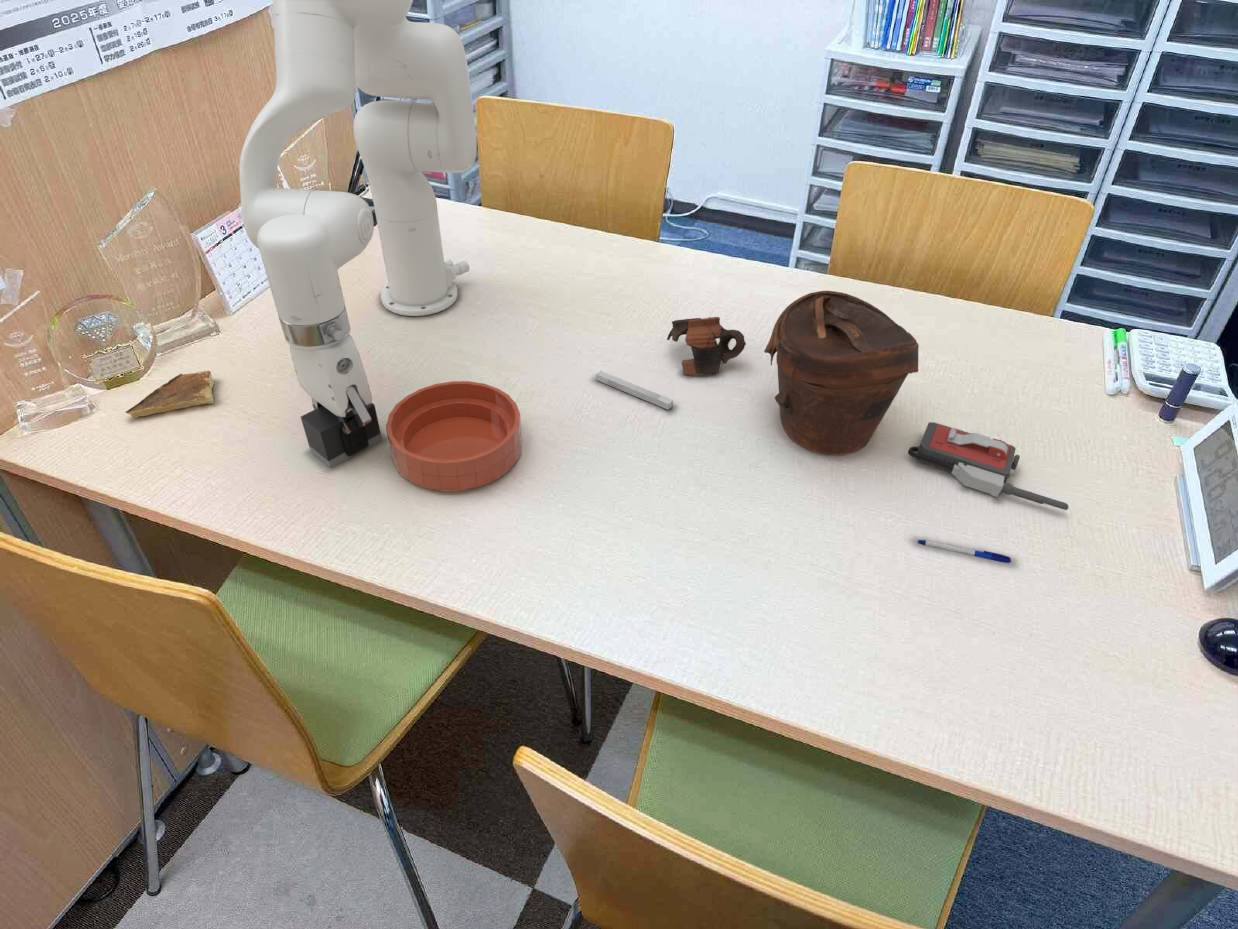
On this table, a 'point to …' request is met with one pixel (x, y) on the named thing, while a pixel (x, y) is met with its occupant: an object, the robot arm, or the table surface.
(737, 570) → the table surface
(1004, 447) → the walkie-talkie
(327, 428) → the eraser
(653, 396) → the grey bar
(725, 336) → the pottery mug
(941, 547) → the ballpoint pen
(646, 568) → the table surface
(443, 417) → the bowl
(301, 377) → the robot arm
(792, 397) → the case
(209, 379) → the shard
